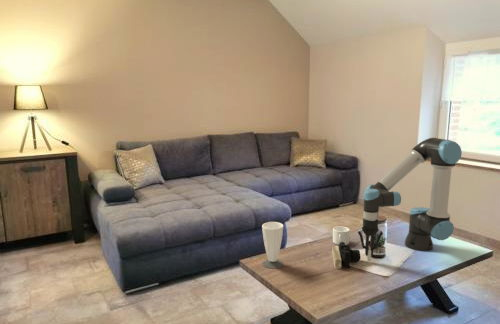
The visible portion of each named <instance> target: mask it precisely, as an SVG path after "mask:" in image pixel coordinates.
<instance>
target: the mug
mask: <svg viewBox="0 0 500 324" xmlns="http://www.w3.org/2000/svg"><path fill="white" fill-rule="evenodd" d="M350 231H351V230H350V228H349V227H347V226H341V225H339V226H334V227H333V228H332V242H333V244H335V246H339V244H340V242H344V243H345V245H349V243H350V240H351V232H350Z"/></svg>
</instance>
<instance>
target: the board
mask: <svg viewBox="0 0 500 324" xmlns="http://www.w3.org/2000/svg"><path fill="white" fill-rule="evenodd" d="M331 248H332V249H331V254H332V259H333V265H334V269H336V270H337V269H340V270H341V269H342V264H341V256H340V252H339V245H332V246H331Z"/></svg>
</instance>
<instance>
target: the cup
mask: <svg viewBox="0 0 500 324" xmlns="http://www.w3.org/2000/svg"><path fill="white" fill-rule="evenodd" d="M261 229H262V236H263V237H262V238H263V243H264V245H263V246H264V249H265V253H266V257H267V259H265V260H266V261H264V260H263V261H264V262H263V261H262V262H263V263H261V264H264V265H262V266H263V267H264V266H265V267H264V268H266V267H267V268H266V269H270V268H273V269H274V268H276V269H279V268H282V267H283V266H284V262H283V260H280V259H278V258H279V255H280V250H281V246H282V240H283V235H284V233H283V232H284V224H283V223H281V222H278V221H268V222H265V223H263V224H262V225H261Z"/></svg>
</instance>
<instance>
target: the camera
mask: <svg viewBox="0 0 500 324" xmlns="http://www.w3.org/2000/svg"><path fill="white" fill-rule="evenodd" d="M338 248H339V252H340V256H341V267H342V268H344V269H350V268H351V263H354V262H357V263H358V262H360V261H361V252H360V250H359V249H351V247H350V245H349V244H347V245H345V243H344V242H340V244H339V245H338Z"/></svg>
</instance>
